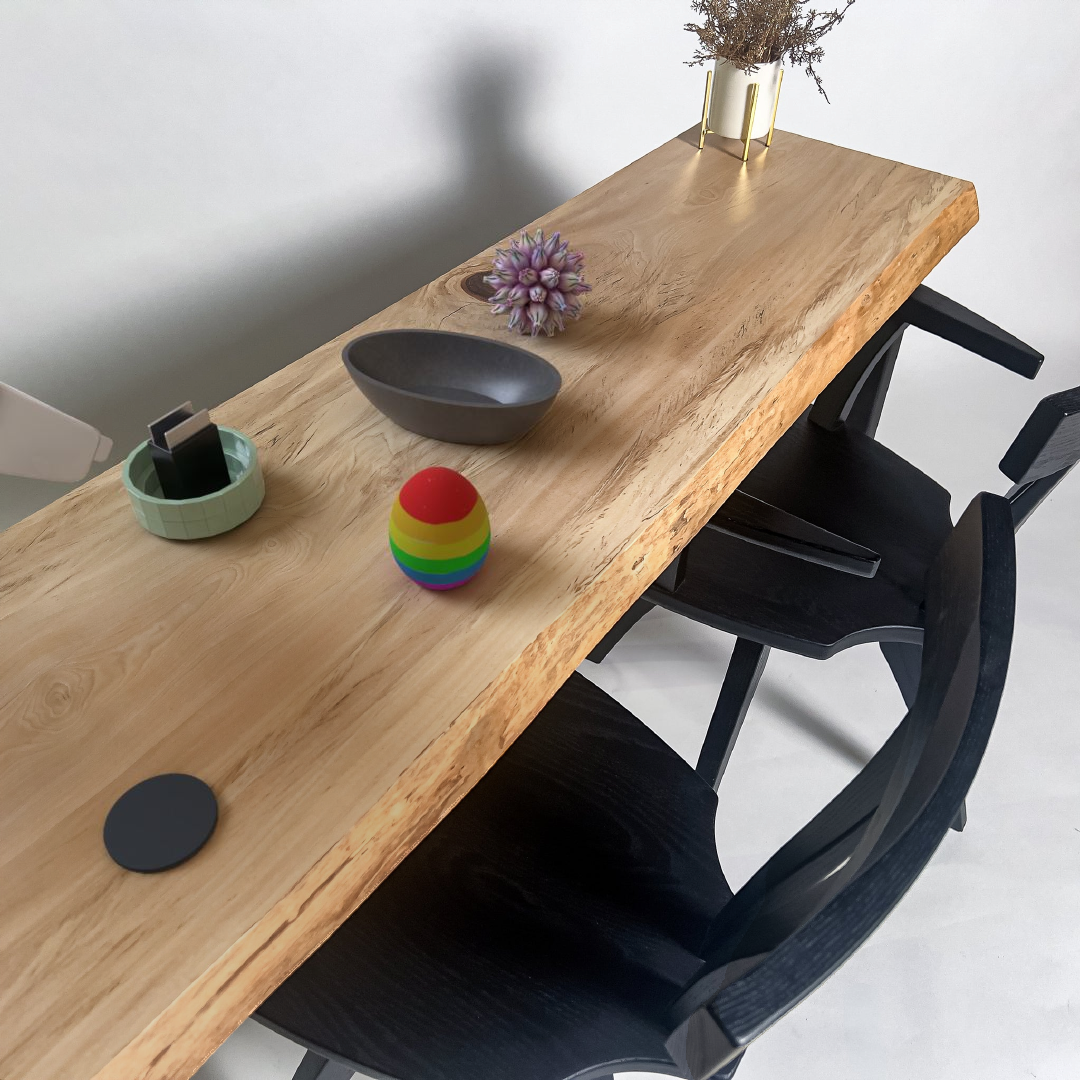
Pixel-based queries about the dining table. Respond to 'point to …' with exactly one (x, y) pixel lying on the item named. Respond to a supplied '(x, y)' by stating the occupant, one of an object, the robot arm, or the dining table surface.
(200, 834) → the coaster
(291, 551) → the dining table surface
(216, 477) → the clip
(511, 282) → the flower
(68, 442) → the robot arm
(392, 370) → the bowl
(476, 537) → the decorative egg
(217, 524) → the green bowl
